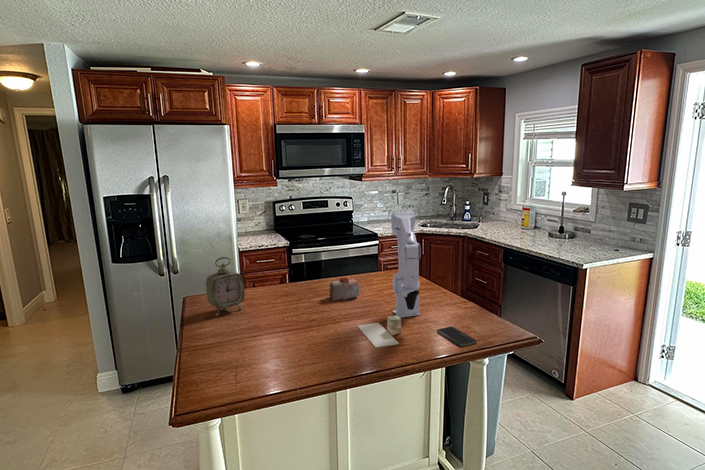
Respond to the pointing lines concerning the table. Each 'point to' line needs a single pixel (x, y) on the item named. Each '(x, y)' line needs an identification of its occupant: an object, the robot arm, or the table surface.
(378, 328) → the mat
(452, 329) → the phone
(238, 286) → the tabletop clock
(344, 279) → the grey carrying case
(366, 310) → the table surface
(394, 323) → the tan and green sponge
